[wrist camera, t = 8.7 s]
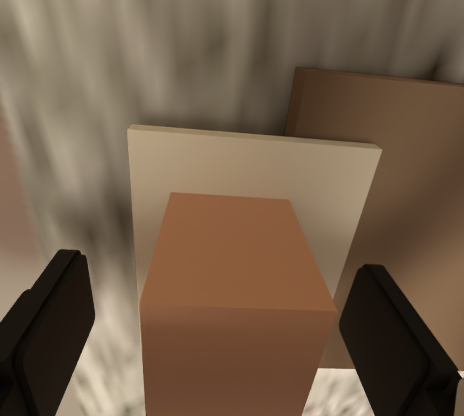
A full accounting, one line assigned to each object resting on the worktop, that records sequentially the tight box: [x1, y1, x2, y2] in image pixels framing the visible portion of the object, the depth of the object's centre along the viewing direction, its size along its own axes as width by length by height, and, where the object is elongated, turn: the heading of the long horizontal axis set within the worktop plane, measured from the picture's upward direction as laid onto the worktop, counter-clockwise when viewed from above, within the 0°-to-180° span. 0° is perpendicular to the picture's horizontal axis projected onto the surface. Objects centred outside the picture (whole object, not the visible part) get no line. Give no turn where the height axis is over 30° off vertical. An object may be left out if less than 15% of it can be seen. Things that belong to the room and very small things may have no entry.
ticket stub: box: [127, 124, 382, 416], centre depth 10 cm, size 8×10×6 cm
